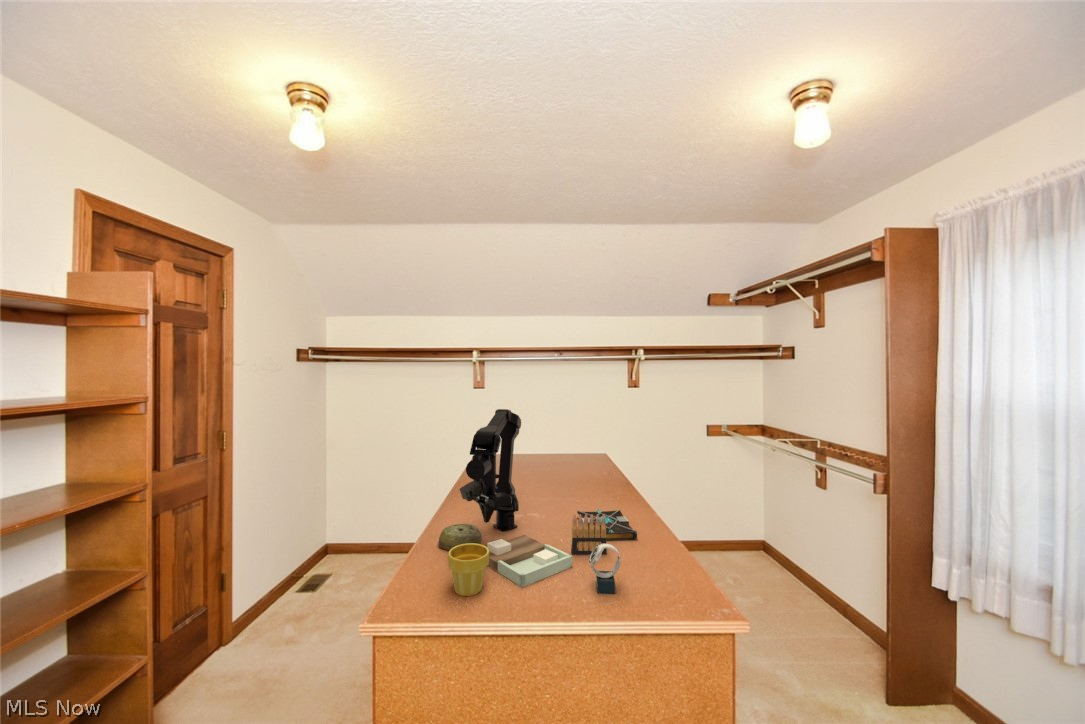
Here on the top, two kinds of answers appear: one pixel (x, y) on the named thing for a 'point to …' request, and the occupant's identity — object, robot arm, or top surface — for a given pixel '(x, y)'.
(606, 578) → the watch
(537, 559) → the tile
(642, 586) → the top surface
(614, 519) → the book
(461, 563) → the plant pot
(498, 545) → the tile
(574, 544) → the ammunition clip
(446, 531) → the weight
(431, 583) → the top surface
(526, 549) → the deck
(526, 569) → the tray
